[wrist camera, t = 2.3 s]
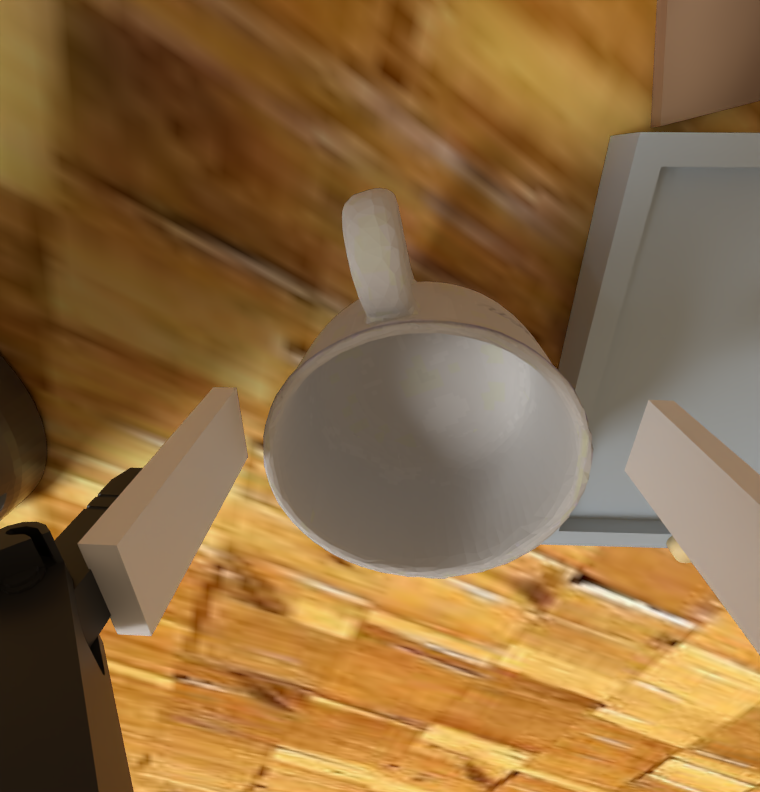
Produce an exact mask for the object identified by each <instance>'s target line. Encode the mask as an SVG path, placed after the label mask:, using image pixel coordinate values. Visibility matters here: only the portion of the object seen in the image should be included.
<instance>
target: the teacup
mask: <svg viewBox="0 0 760 792" xmlns="http://www.w3.org/2000/svg"><path fill="white" fill-rule="evenodd" d="M342 229H343V236H344V242H345V247H346V253H347V258H348V262H349V267H350V271H351V275H352V279H353V282H354V285H355V288H356V291H357V294H358V297H359V299H358V300H357V301H355V302H354V303H352V304H351V305H349V306H348V307H346V308H345V309H343V310H342V311H341V312H340V313H339V314H338V315H336V316H335V317H334V318H333V319H332V320H331V321H330V322H329V323H328V324H327V325H326V327H325V328H324V329H323V330H322V331H321V333H320V334H319V335H318V336H317V338H316V339H315V340H314V342H313V344H312V345H311V347H310V348H309V350H308V351H307V353H306V354H305V356H304V357H303V359H302V361H301V362H300V364H299V366H298V367H297V369H296V370H295V371H294V372H293V373H292V374H291V375H290V376H289V378H288V379H287V380H286V382H285V383H284V385H283V386H282V387H281V389H280V390H279V392H278V393H277V395H276V397H275V399H274V401H273V404H272V406H271V408H270V411H269V415H268V418H267V421H266V425H265V430H264V436H263V439H264V467H265V470H266V474H267V478H268V481H269V484H270V487H271V489H272V491H273V493H274V495H275V497H276V499H277V501H278V503H279V505H280V506H281V508H282V509H283V510H284V512H285V513H286V514H287V516H288V517H289V518H290V519H291V521H292V522H293V523H294V524H295V525H296V526H297V527H298V528H299V529H300V530H301V531H302V532H303V533H304V534H305V535H307V536H308V537H309V538H310V539H311V540H312V541H314V542H315V543H317V544H318V545H320V546H321V547H323V548H324V549H325V550H327V551H329V552H330V553H332V554H334V555H336V556H338V557H340V558H342V559H344V560H346V561H348V562H351V563H353V564H356V565H359V566H361V567H365V568H368V569H371V570H375V571H379V572H383V573H388V574H395V575H401V576H407V577H425V578H438V579H445V578H447V577H452V576H460V575H466V574H471V573H478V572H483V571H486V570H489V569H491V568H494V567H497V566H500V565H504V564H507V563H509V562H511V561H513V560H515V559H517V558H519V557H520V556H522V555H524V554H526V553H528V552H530V551H531V550H533V549H534V548H536V547H537V546H539V545H540V544H541V543H543V542H544V541H545V540H546V539H547V538H549V537H550V536H551V535H552V534H553V533H554V532H555V531H556V530H557V529H558V528H559V527H560V526H561V525H562V524H563V523H564V522H565V521H566V520H567V519H568V518H569V516H570V514H571V512H572V511H573V510H574V509H575V507H576V506H577V504H578V502H579V500H580V498H581V496H582V494H583V493H584V491H585V488H586V485H587V482H588V479H589V473H590V469H591V465H592V458H593V450H594V449H593V445H592V434H591V431H590V429H589V423H588V419H587V416H586V413H585V410H584V408H583V406H582V404H581V401H580V399H579V397H578V396H577V394H576V392H575V390H574V388H573V387H572V385H571V383H570V382H569V381H568V380H567V379H566V378H565V377H564V376H562V374H561V373H560V372H559V370H558V369H557V368H556V367H555V366H554V365H553V364H552V363H551V361H550V360H549V358H548V357H547V355H546V354H545V352H544V351H543V350H542V348H541V347H540V345H539V344H538V343H537V341H536V340H535V338H534V337H533V336H532V335H531V333H530V332H529V331H528V330H527V329H526V327H525V326H524V325H523V324H522V323H521V322H520V321H519V320H518V319H517V318H516V317H515V316H514V315H513V314H511V313H510V312H509V311H508V310H506V309H505V308H504V307H502V306H501V305H500V304H499V303H497V302H495V301H494V300H492V299H490V298H488V297H487V296H485V295H483V294H481V293H479V292H476V291H474V290H471V289H468V288H465V287H462V286H458V285H455V284H448V283H442V282H429V281H423V282H417V281H416V280H415V279H414V276H413V273H412V269H411V266H410V261H409V256H408V251H407V246H406V242H405V237H404V232H403V226H402V221H401V216H400V211H399V207H398V203H397V200H396V197H395V195H394V194H393V192H391V191H389V190H388V189H383V188H375V189H370V190H367V191H364V192H361V193H358V194H355V195H353V196H351V197H350V199H349V200H348V201H347V202H346V203H345V204H344V207H343V211H342Z"/></svg>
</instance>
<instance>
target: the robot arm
mask: <svg viewBox="0 0 760 792" xmlns="http://www.w3.org/2000/svg"><path fill="white" fill-rule="evenodd" d="M46 458H47V444H46V436H45V432H44V428H43V424H42V421H41V418H40V416H39V413H38V410H37V408H36V406H35V404H34V402H33V400H32V398H31V396H30V395H29V393H28V391H27V390H26V388H25V386H24V385H23V383H22V382H21V380H20V379H19V378H18V376H17V375H16V373H15V372H14V371H13V370H12V368H11V367H10V366H9V365H8V363H7V362H6V361H5V360H4V359H3V358H2V357H1V356H0V520H1V519H3V518H4V517H5V516H6V515H7V514H8V513H9V512H11V511H12V510H13V509H14V508H15V507H16V506H17V505H18V504H19V503H21V502H22V501H23V500H24V499H25V498H26V497H27V496H28V495H29V494H30V493H31V492H32V491H33V490H34V489H35V488H36V486H37V485H38V483H39V482H40V480H41V477H42V475H43V472H44V469H45V465H46ZM247 458H248V454H247V448H246V442H245V436H244V430H243V424H242V418H241V412H240V406H239V400H238V394H237V388H228V387H213V388H212V389H211V390H210V392H209V393H208V394H207V395H206V396H205V397H204V398H203V400H202V401H201V402H200V403H199V404H198V405H197V407H196V408H195V409H194V410H193V411H192V412H191V413H190V415H189V416H188V417H187V418H186V419H185V420H184V421H183V423H182V424H181V425H180V426H179V427H178V428H177V430H176V431H175V432H174V433H173V434H172V435H171V436H170V438H169V439H168V440H167V441H166V442H165V443H164V445H163V446H162V447H161V448H160V449H159V450H158V451H157V453H156V454H155V455H154V456H153V457H152V458H151V460H150V461H149V462H148V463H147V464H146V465H145V466H144V468H129V469H128V470H126V471H125V472H123V473H121V474H120V475H118V476H117V477H115V478H114V479H112V480H111V481H110V482H109V483H108V484H107V485H106V486H105V487H104V488H103V489H102V490H101V492H100V493H99V494H98V497H95V498H94V499H93V500H92V501H91V502H90V503H89V504H88V505H87V509H84V510H83V511H82V512H81V513H80V514H79V515H78V516H77V517H76V518H75V519H74V520H73V521H72V522H71V524H70V525H69V526H68V527H67V528H66V529H65V530H64V531H63V532H62V533H61V534H60V535H59V536H58V537H57V538H56V540H55V541H54V539H53V537H52V535H51V533H50V531H49V529H48V528H47V526H46V525H45V524H42V523H39V522H22V523H18V524H14V525H10V526H6V527H4V528H2V529H0V792H133V787H132V782H131V777H130V772H129V767H128V762H127V757H126V753H125V748H124V743H123V738H122V733H121V728H120V723H119V718H118V714H117V709H116V704H115V699H114V694H113V689H112V684H111V679H110V675H109V670H108V665H107V660H106V655H105V650H104V645H103V642H102V640H101V638H100V635H99V633H100V632H101V630H102V629H103V627H104V626H105V624H106V623H107V621H108V620H109V618H111V620H112V623H113V625H114V627H115V629H116V632H117V634H124V635H143V636H152V634H153V632H154V631H155V629H156V627H157V625H158V623H159V621H160V619H161V618H162V616H163V614H164V612H165V610H166V608H167V606H168V605H169V603H170V601H171V599H172V597H173V595H174V593H175V592H176V590H177V588H178V586H179V584H180V582H181V580H182V579H183V577H184V575H185V573H186V571H187V569H188V567H189V566H190V564H191V562H192V560H193V558H194V556H195V554H196V553H197V551H198V549H199V547H200V545H201V543H202V541H203V540H204V538H205V536H206V534H207V532H208V530H209V528H210V527H211V525H212V523H213V521H214V519H215V517H216V515H217V514H218V512H219V510H220V508H221V506H222V504H223V502H224V501H225V499H226V497H227V495H228V493H229V491H230V489H231V488H232V486H233V484H234V482H235V480H236V478H237V476H238V474H239V473H240V471H241V469H242V467H243V465H244V463H245V461H246V460H247ZM625 472H626V473H627V475H628V476H629V477H630V479H631V480H632V481H633V483H634V484H635V485H636V487H637V488H638V490H639V491H640V492H641V494H642V495H643V496H644V498H645V499H646V500H647V502H648V503H649V505H650V506H651V507H652V509H653V510H654V511H655V513H656V514H657V516H658V517H659V518H660V520H661V521H662V522H663V524H664V525H665V526H666V528H667V529H668V531H669V532H670V533H671V535H672V536H673V537H674V539H675V540H676V541H677V543H678V544H679V546H680V547H681V548H682V550H683V551H684V552H685V554H686V555H687V556H688V558H689V559H690V561H691V562H692V563H693V565H694V566H695V567H696V569H697V570H698V572H699V573H700V574H701V576H702V577H703V578H704V580H705V581H706V582H707V584H708V585H709V587H710V588H711V589H712V591H713V592H714V593H715V595H716V596H717V597H718V599H719V600H720V602H721V603H722V604H723V606H724V607H725V608H726V610H727V611H728V612H729V614H730V615H731V617H732V618H733V619H734V621H735V622H736V623H737V625H738V626H739V627H740V629H741V630H742V632H743V633H744V634H745V636H746V637H747V638H748V640H749V641H750V643H751V644H752V645H753V647H754V648H755V649H756V651H757V652H758V653H759V655H760V475H759V474H758V473H757V472H756V471H755V470H754V469H752V468H751V467H750V466H749V465H748V464H747V463H745V462H744V461H743V460H742V459H741V458H740V457H739V456H737V455H736V454H735V453H734V452H733V451H732V450H730V449H729V448H728V447H727V446H726V445H725V444H723V443H722V442H721V441H720V440H719V439H718V438H716V437H715V436H714V435H713V434H712V433H711V432H709V431H708V430H707V429H706V428H705V427H704V426H702V425H701V424H700V423H699V422H698V421H697V420H695V419H694V418H693V417H692V416H691V415H690V414H688V413H687V412H686V411H685V410H684V409H683V408H681V407H680V406H679V405H678V404H677V403H676V402H675V401H671V400H648V403H647V406H646V409H645V411H644V414H643V417H642V420H641V423H640V426H639V429H638V432H637V435H636V438H635V441H634V444H633V447H632V449H631V452H630V455H629V458H628V461H627V464H626V467H625Z"/></svg>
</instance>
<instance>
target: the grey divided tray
mask: <svg viewBox="0 0 760 792" xmlns="http://www.w3.org/2000/svg"><path fill="white" fill-rule="evenodd" d="M558 370H559V372H560V373H561V374H562V376H564V377H565V378H566V379H567V380H568V381H569V382H570V383H571V385H572V387H573V388H574V390H575V392H576V394H577V396H578V397H579V399H580V401H581V404H582V406H583V408H584V410H585V413H586V416H587V419H588V423H589V429H590V431H591V434H592V445H593V449H594V450H593V458H592V465H591V469H590V473H589V479H588V482H587V485H586V488H585V491H584V493H583V494H582V496H581V498H580V500H579V502H578V504H577V506H576V507H575V509H574V510H573V511H572V512H571V514H570V516H569V518H568V519H567V520H566V521H565V522H564V523H563V524H562V525H561V526H560V527H559V528H558V529H557V530H556V531H555V532H554V533H553V534H552V535H551V536H550V537H549V538H547V539H546V540H545V541H544V542H543V543H541V544H547V545H582V546H618V547H653V548H668V549H669V550H670V552H671V553H672V554H673V556H674V557H675V559H676V560H677V561H679V562H681V563H690V562H691V561H690V559H689V558H688V556H687V555H686V554H685V552H684V551H683V550H682V548H681V547H680V546H679V544H678V543H677V541H676V540H675V539H674V537H673V536H672V535H671V533H670V532H669V531H668V529H667V528H666V526H665V525H664V524H663V522H662V521H661V520H660V518H659V517H658V516H657V514H656V513H655V511H654V510H653V509H652V507H651V506H650V505H649V503H648V502H647V500H646V499H645V498H644V496H643V495H642V494H641V492H640V491H639V490H638V488H637V487H636V485H635V484H634V483H633V481H632V480H631V479H630V477H629V476H628V475H627V473H626V472H625V467H626V464H627V461H628V458H629V455H630V452H631V449H632V447H633V444H634V441H635V438H636V435H637V432H638V429H639V426H640V423H641V420H642V417H643V414H644V411H645V409H646V406H647V403H648V400H671V401H675V402H676V403H677V404H678V405H679V406H680V407H681V408H683V409H684V410H685V411H686V412H687V413H688V414H690V415H691V416H692V417H693V418H694V419H695V420H697V421H698V422H699V423H700V424H701V425H702V426H704V427H705V428H706V429H707V430H708V431H709V432H711V433H712V434H713V435H714V436H715V437H716V438H718V439H719V440H720V441H721V442H722V443H723V444H725V445H726V446H727V447H728V448H729V449H730V450H732V451H733V452H734V453H735V454H736V455H737V456H739V457H740V458H741V459H742V460H743V461H744V462H745V463H747V464H748V465H749V466H750V467H751V468H752V469H754V470H755V471H756V472H757V473H758V474H759V475H760V133H704V132H636V133H629V134H621V135H614V136H610V141H609V145H608V150H607V154H606V159H605V163H604V167H603V172H602V176H601V181H600V185H599V190H598V194H597V199H596V203H595V207H594V212H593V216H592V221H591V225H590V230H589V234H588V239H587V243H586V247H585V252H584V256H583V261H582V265H581V270H580V274H579V279H578V283H577V287H576V292H575V296H574V301H573V305H572V310H571V314H570V319H569V323H568V327H567V332H566V336H565V341H564V345H563V350H562V354H561V359H560V363H559V367H558Z"/></svg>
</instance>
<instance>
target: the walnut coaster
mask: <svg viewBox="0 0 760 792" xmlns="http://www.w3.org/2000/svg"><path fill="white" fill-rule="evenodd" d="M757 101H760V0H657V13H656V33H655V53H654V73H653V93H652V113H651V128H653V127H659V126H664V125H667V124H671V123H675V122H679V121H683V120H687V119H691V118H695V117H699V116H702V115H706V114H710V113H714V112H718V111H722V110H726V109H730V108H734V107H737V106H741V105H745V104H749V103H753V102H757Z"/></svg>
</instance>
